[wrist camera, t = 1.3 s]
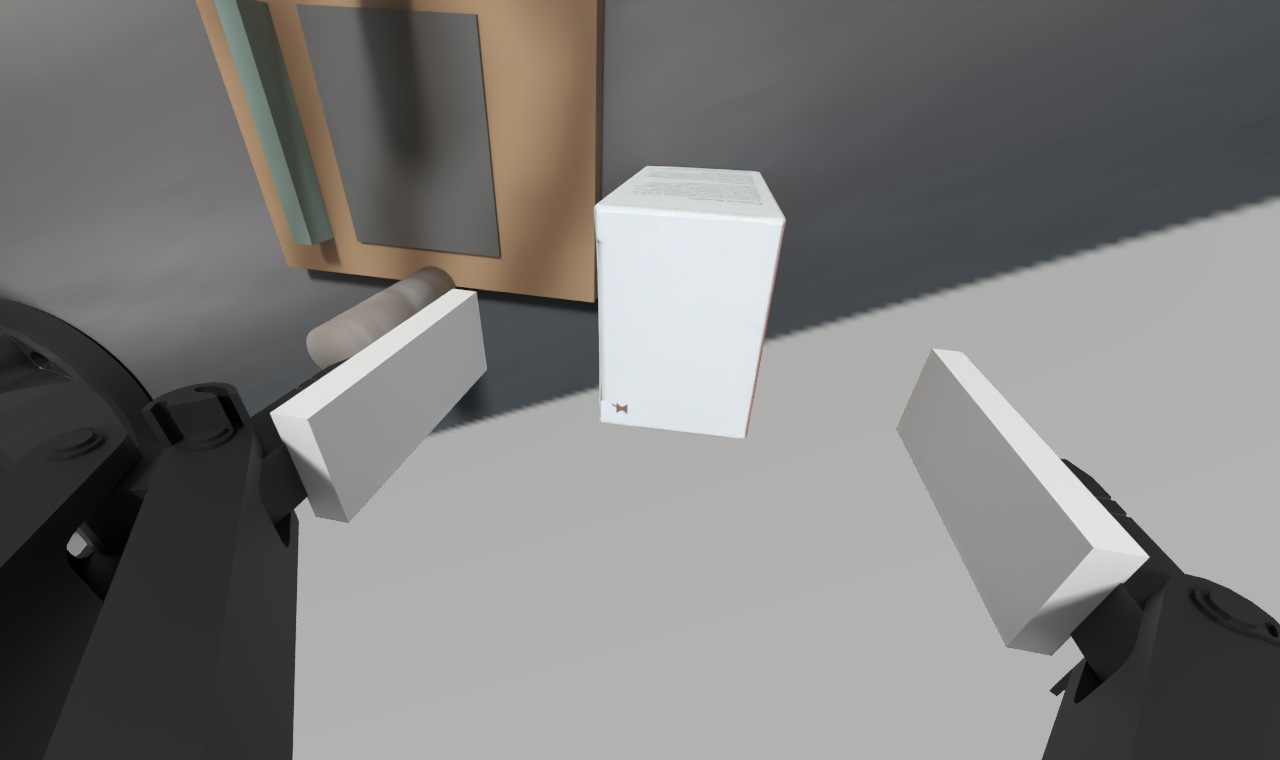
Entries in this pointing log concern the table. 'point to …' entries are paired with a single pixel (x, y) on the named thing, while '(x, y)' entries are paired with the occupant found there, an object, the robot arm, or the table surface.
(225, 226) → the table surface
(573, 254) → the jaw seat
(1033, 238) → the table surface
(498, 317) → the table surface
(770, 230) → the small box
